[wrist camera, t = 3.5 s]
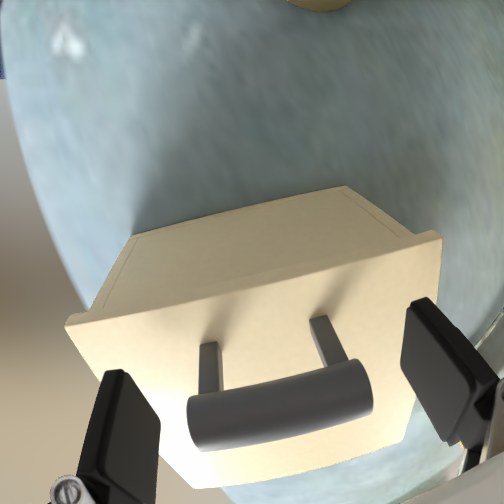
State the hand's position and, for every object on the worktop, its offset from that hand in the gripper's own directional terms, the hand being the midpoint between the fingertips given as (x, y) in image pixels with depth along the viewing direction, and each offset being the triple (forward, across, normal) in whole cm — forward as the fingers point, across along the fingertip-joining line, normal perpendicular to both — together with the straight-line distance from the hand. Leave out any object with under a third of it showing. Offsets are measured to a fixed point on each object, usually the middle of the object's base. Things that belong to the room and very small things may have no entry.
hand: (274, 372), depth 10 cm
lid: (+3, 0, +5) cm, 6 cm away
